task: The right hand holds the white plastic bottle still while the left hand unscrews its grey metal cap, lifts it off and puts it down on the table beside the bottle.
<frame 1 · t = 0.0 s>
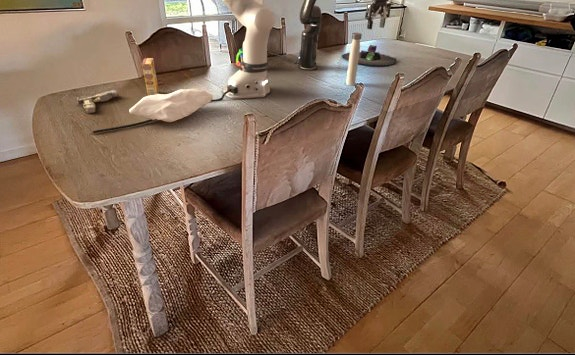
right hand: (375, 28, 168), 29 cm above the table, tool pointing down, fingers open, 8 cm apart
bottle: (350, 84, 191), on the table
cap: (357, 34, 177), point 25 cm above the table, screwed on, not yet turned
candy box: (153, 94, 167), on the table
crumpled cloth: (172, 113, 149), on the table
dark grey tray: (368, 59, 234), on the table
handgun: (101, 103, 156), on the table
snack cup: (248, 68, 208), on the table
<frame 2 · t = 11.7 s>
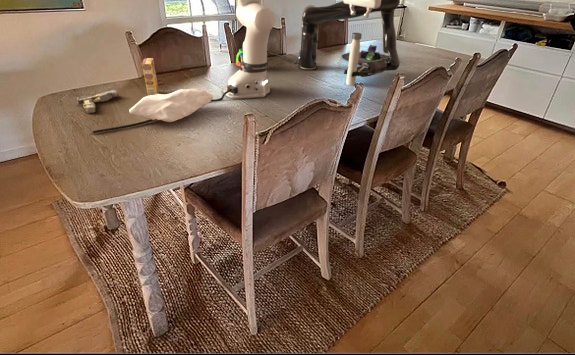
left hand: (359, 16, 173), 33 cm above the table, tool pointing down, fingers open, 7 cm apart
right hand: (348, 73, 186), 6 cm above the table, tool horizontal, fingers closed on bottle, 4 cm apart
bottle: (350, 84, 191), on the table, touching right hand
everything else where it was.
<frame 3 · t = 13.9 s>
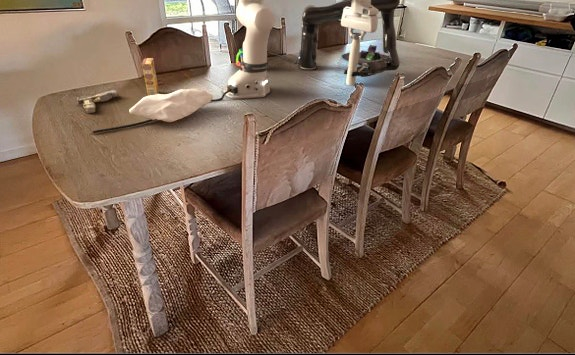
left hand: (356, 39, 178), 23 cm above the table, tool pointing down, fingers closed on cap, 4 cm apart
right hand: (348, 73, 186), 6 cm above the table, tool horizontal, fingers closed on bottle, 4 cm apart
bottle: (350, 84, 191), on the table, touching right hand
cap: (356, 34, 177), point 25 cm above the table, screwed on, not yet turned, touching left hand
everything else where it was.
when the left hand's fingers open (2 cm above the table, at t = 35.9 s): cap drops 2 cm, point 2 cm above the table.
when the right hand's fingers open (6 cm above the table, at t = 37.0 s): bottle stays where it is, on the table.
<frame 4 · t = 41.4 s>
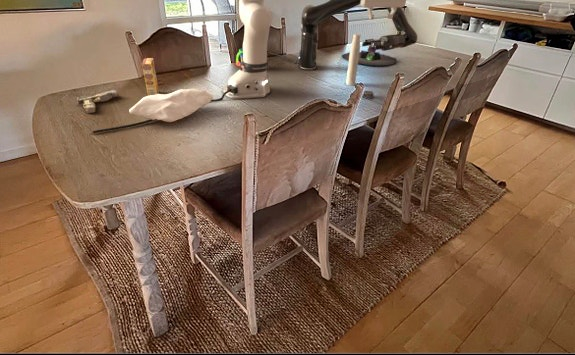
left hand: (380, 18, 156), 35 cm above the table, tool pointing down, fingers open, 8 cm apart
right hand: (368, 45, 186), 18 cm above the table, tool horizontal, fingers open, 8 cm apart
bottle: (350, 84, 191), on the table
cap: (368, 92, 174), point 2 cm above the table, off its thread
everything else where it was.
at the end: cap came off its thread; cap point 2.1 cm above the table; the left hand is holding nothing; the right hand is holding nothing; bottle tilted 0°; bottle moved 0.0 cm from its start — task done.
